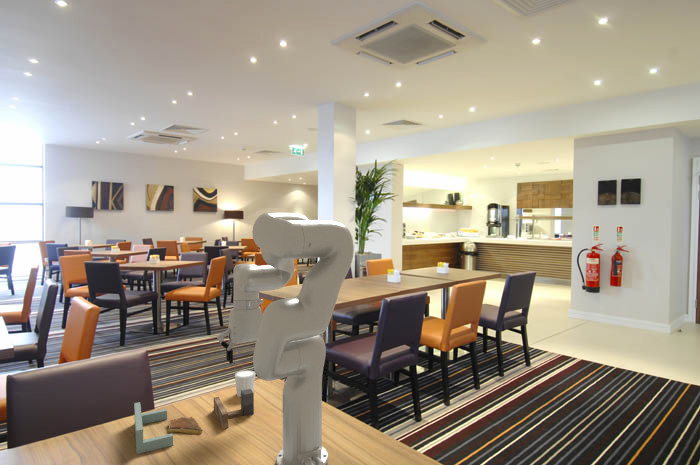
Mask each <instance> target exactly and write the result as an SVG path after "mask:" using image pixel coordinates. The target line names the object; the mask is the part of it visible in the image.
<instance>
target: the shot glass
mask: <svg viewBox="0 0 700 465" xmlns="http://www.w3.org/2000/svg"><path fill="white" fill-rule="evenodd" d="M254 380H255V381H256V372H255V370H254V371H253V370H251V369H250V370H249V369H248V370H247V369H246V370H240V371H238V372H236V373H234V381H235V391H236V396H237V397H239V398H241V390H246V389H251V390H252V391H253V392H255V381H254Z"/></svg>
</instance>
